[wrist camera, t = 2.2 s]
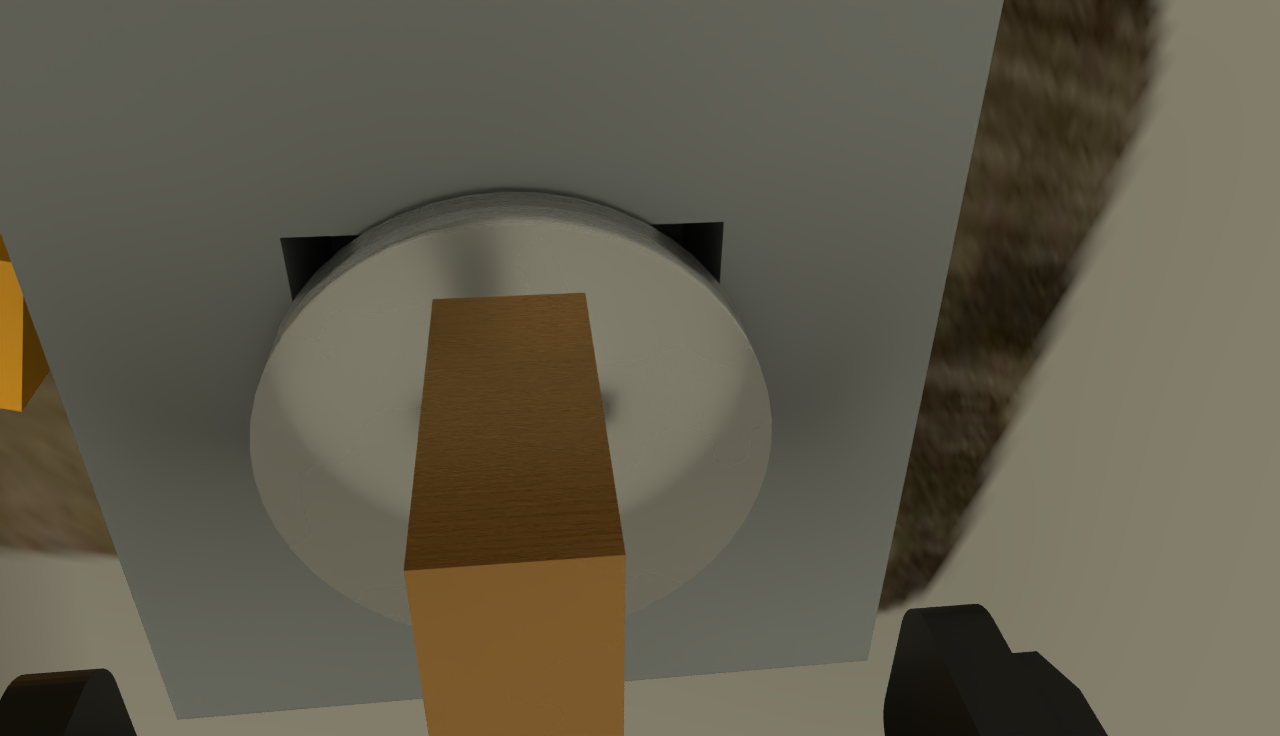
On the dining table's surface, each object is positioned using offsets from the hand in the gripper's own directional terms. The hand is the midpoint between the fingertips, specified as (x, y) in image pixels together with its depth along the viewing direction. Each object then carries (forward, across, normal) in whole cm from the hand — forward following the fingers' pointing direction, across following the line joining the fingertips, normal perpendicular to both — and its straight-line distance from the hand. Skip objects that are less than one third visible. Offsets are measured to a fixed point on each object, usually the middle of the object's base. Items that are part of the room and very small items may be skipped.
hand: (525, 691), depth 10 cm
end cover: (+8, 0, 0) cm, 8 cm away
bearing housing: (+13, 0, 0) cm, 13 cm away
